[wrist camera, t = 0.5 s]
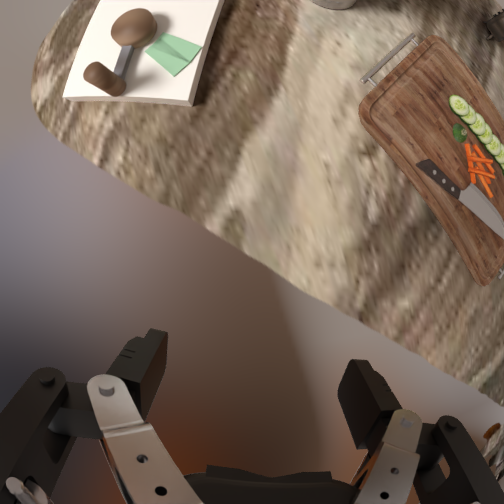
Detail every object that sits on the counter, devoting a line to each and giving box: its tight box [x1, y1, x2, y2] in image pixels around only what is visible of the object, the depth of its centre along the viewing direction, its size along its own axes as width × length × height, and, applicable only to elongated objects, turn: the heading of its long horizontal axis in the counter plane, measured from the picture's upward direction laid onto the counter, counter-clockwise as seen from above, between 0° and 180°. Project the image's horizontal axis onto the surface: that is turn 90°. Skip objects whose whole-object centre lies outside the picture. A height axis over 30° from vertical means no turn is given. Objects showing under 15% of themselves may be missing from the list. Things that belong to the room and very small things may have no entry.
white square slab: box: [63, 0, 225, 107], centre depth 30 cm, size 20×20×3 cm
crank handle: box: [83, 8, 157, 97], centre depth 26 cm, size 13×6×7 cm, turn 168°
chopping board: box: [358, 33, 504, 286], centre depth 35 cm, size 45×27×3 cm, turn 47°
